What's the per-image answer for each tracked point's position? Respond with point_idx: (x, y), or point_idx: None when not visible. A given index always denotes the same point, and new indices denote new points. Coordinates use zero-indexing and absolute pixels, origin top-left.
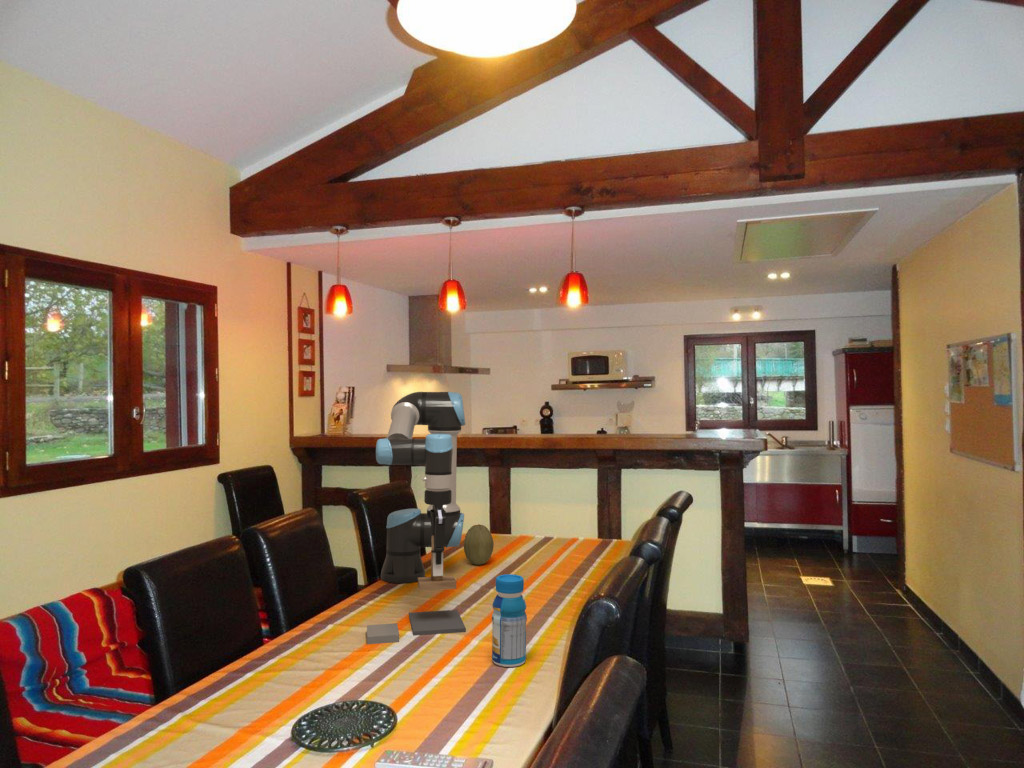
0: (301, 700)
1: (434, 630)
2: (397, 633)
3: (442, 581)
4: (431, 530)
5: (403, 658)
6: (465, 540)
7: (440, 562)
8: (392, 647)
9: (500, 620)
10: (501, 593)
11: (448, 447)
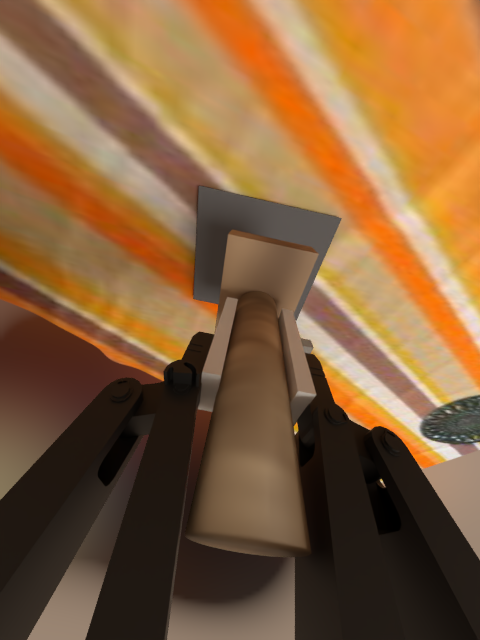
0: (393, 431)
1: (310, 287)
2: (306, 348)
3: (290, 301)
4: (61, 569)
5: (374, 351)
6: None
7: (318, 365)
8: (325, 352)
9: None
10: None
11: None
